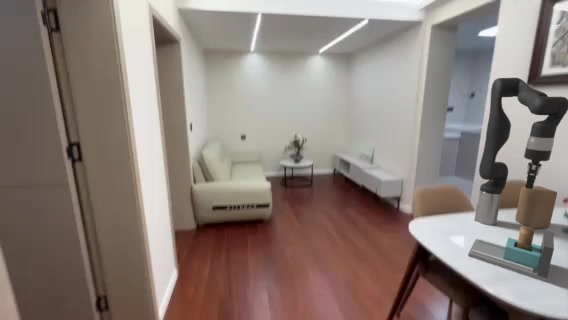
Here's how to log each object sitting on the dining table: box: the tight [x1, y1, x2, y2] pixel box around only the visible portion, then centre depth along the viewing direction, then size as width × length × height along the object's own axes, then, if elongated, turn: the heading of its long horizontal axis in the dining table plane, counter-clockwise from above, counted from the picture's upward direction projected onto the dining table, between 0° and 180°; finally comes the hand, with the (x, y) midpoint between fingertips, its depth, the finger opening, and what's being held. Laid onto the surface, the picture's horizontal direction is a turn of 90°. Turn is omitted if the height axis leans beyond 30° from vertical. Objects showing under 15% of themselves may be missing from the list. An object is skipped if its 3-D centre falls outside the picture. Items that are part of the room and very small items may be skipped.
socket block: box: [503, 237, 541, 271], centre depth 104 cm, size 10×10×6 cm
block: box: [514, 185, 558, 229], centre depth 135 cm, size 10×10×20 cm
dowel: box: [517, 225, 536, 251], centre depth 103 cm, size 4×4×13 cm
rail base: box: [467, 230, 555, 283], centre depth 107 cm, size 24×16×14 cm
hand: (529, 185), depth 108 cm, fingers open, 8 cm apart
